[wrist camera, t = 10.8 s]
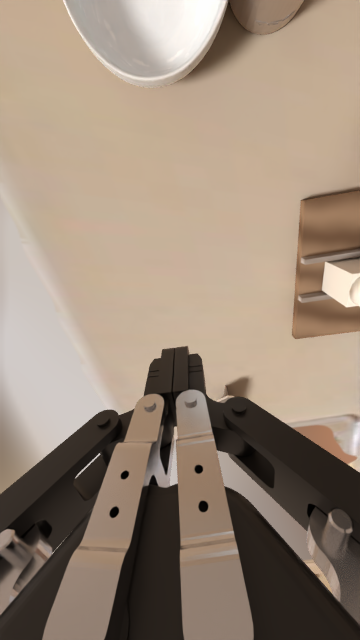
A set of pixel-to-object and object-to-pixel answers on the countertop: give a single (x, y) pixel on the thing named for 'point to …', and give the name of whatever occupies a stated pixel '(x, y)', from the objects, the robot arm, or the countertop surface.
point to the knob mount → (313, 251)
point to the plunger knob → (343, 281)
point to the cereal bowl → (148, 35)
